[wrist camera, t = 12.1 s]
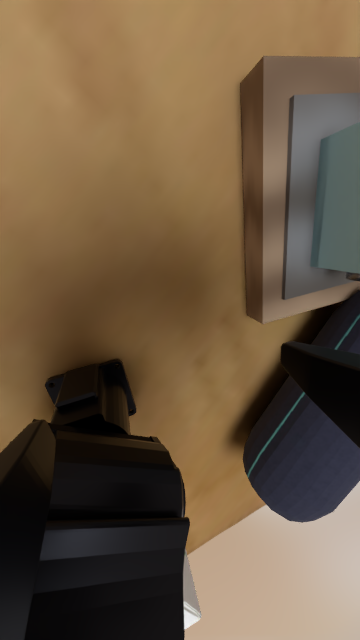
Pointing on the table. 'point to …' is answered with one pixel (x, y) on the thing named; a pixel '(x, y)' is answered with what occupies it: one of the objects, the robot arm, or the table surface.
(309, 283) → the walnut stand
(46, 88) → the table surface
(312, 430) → the portable speaker
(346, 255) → the box
